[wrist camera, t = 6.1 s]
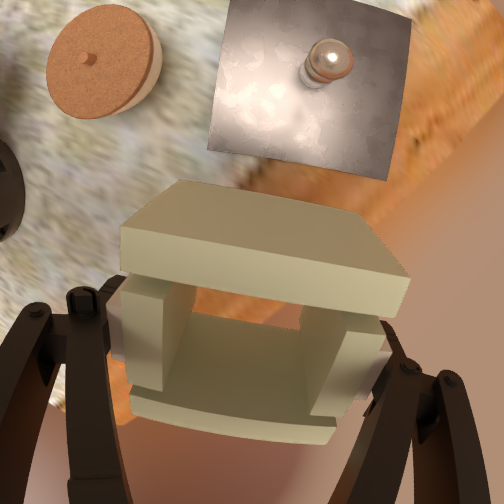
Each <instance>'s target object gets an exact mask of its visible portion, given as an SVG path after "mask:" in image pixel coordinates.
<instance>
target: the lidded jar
mask: <svg viewBox="0 0 504 504" xmlns="http://www.w3.org/2000/svg"><path fill="white" fill-rule="evenodd" d="M162 60H163V57H162V48H161V44H160V41H159V39H158V37H157V35H156V33H155V32H154V30H153V29H152V28H151V26H150V25H149V24H148V23H147V22H146V21H144V19H143V18H142V17H140V16H139V15H138V14H137V13H136V12H134V11H132V10H131V9H129V8H127V7H124V6H120V5H114V4H112V5H101V6H97V7H94V8H91V9H89V10H87V11H85V12H83V13H81V14H80V15H78V16H77V17H75V18H74V19H73V20H72V21H71V22H70V23H68V24H67V25H66V27H65V28H64V29H63V30H62V31H61V33H60V34H59V36H58V37H57V39H56V40H55V42H54V44H53V46H52V49H51V51H50V54H49V58H48V62H47V69H46V79H47V86H48V90H49V92H50V95H51V97H52V99H53V101H54V103H55V104H56V105H57V106H58V108H60V109H61V110H62V111H63V112H64V113H66V114H68V115H70V116H72V117H75V118H79V119H96V118H101V117H105V116H110V115H115V114H118V113H120V112H123V111H126V110H128V109H129V108H131V107H133V106H135V105H136V104H138V103H139V102H140V101H142V100H143V99H144V98H145V97H146V96H147V95H148V94H149V92H150V91H151V90H152V88H153V87H154V85H155V83H156V82H157V80H158V77H159V75H160V71H161V68H162Z"/></svg>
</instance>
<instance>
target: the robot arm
mask: <svg viewBox="0 0 504 504" xmlns="http://www.w3.org/2000/svg"><path fill="white" fill-rule="evenodd" d="M24 198H25V197H24V184H23V179H22V174H21V171H20V168H19V165H18V162H17V160H16V158H15V156H14V154H13V153H12V151H11V150H10V149H9V147H8V146H7V145H6V144H5V143H4V142H2V141H1V140H0V242H2V241H3V240H5V239H7V238H8V237H10V236H11V235H12V234H13V233H14V232H15V231H16V230H17V228H18V226H19V224H20V222H21V219H22V216H23V211H24ZM133 274H134V273H130V274H129V275H128V276H127V277H125V276H120V275H115V276H113V277H112V278H110V279H108V280H107V281H106V282H105V284H104V285H103V286H102V287H101V288H100V289H99V291H97V290H96V289H94V288H91V287H86V286H82V287H76V288H73V289H71V290H70V291H69V292H68V293H67V295H66V300H67V307H68V313H69V314H52V311H51V308H50V306H49V305H48V304H46V303H43V302H34V303H30V304H28V305H27V306H25V307H24V308H23V309H22V311H21V312H20V314H19V316H18V317H17V319H16V320H15V322H14V324H13V325H12V327H11V329H10V330H9V332H8V334H7V335H6V337H5V339H4V340H3V342H2V344H1V346H0V504H23V503H24V497H25V492H26V486H27V482H28V477H29V472H30V468H31V463H32V459H33V455H34V451H35V447H36V443H37V439H38V436H39V432H40V428H41V424H42V421H43V418H44V414H45V411H46V408H47V405H48V401H49V398H50V395H51V392H52V389H53V386H54V383H55V380H56V377H57V374H58V372H59V369H60V366H61V364H66V371H65V403H66V429H67V444H68V455H69V465H70V479H69V480H68V483H67V488H68V497H69V503H70V504H134V503H133V500H132V497H131V493H130V489H129V485H128V481H127V477H126V472H125V468H124V464H123V459H122V455H121V450H120V445H119V440H118V434H117V429H116V423H115V417H114V411H113V404H112V398H111V390H110V383H109V375H108V366H107V358H106V355H107V354H108V352H109V350H110V349H111V357H112V359H115V360H118V361H122V362H125V354H124V342H123V329H122V313H121V289H122V288H123V287H124V285H125V284H126V283H127V281H128V280H129V279H130V278H131V276H132V275H133ZM380 323H381V325H382V327H383V329H384V331H385V333H386V338H385V340H384V342H383V344H382V346H381V348H380V350H379V352H378V354H377V356H376V358H375V360H374V362H373V364H372V366H371V368H370V370H369V372H368V374H367V376H366V378H365V379H364V381H363V383H362V385H361V387H360V389H359V390H358V392H357V394H356V396H355V398H354V399H355V400H366V399H367V398H368V396H369V394H370V392H371V391H372V394H373V397H374V399H373V400H372V402H371V403H370V405H369V407H368V408H367V410H366V411H365V413H364V415H363V416H364V417H365V419H364V422H363V424H362V427H361V430H360V432H359V435H358V437H357V440H356V442H355V445H354V447H353V449H352V452H351V454H350V457H349V459H348V461H347V464H346V466H345V468H344V471H343V473H342V475H341V477H340V479H339V482H338V483H337V486H336V488H335V490H334V492H333V494H332V496H331V498H330V500H329V502H328V504H395V501H396V497H397V494H398V491H399V487H400V484H401V480H402V476H403V473H404V469H405V465H406V461H407V457H408V452H409V448H410V444H411V439H412V448H413V467H414V504H491V501H490V494H489V487H488V481H487V475H486V470H485V465H484V459H483V455H482V450H481V446H480V441H479V437H478V433H477V429H476V425H475V421H474V417H473V414H472V410H471V406H470V403H469V399H468V396H467V392H466V389H465V386H464V383H463V380H462V379H461V377H460V376H459V375H458V374H457V373H455V372H453V371H450V370H442V371H440V373H439V374H438V376H437V377H434V376H430V375H426V374H424V373H422V369H421V367H420V365H419V364H418V363H416V362H415V361H413V360H412V359H410V358H407V357H406V355H405V353H404V350H403V348H402V346H401V344H400V342H399V340H398V338H397V336H396V334H395V332H394V330H393V328H392V327H391V326H390V325H389V324H388V323H387V322H386V321H382V320H380ZM354 399H353V400H354Z"/></svg>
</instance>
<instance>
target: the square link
mask: <svg viewBox="0 0 504 504" xmlns="http://www.w3.org/2000/svg"><path fill="white" fill-rule="evenodd" d="M120 271H125V272H130V273H134V274H133V275H132V276H131V278H130V279H129V280H128V281H127V283H126V284H125V285H124V287H123V288H122V289H121V313H122V329H123V342H124V354H125V364H126V373H127V382H128V383H130V384H133V386H132V389H131V391H130V393H129V398H130V405H131V412H132V414H133V415H137V416H140V417H144V418H148V419H152V420H155V421H159V422H164V423H168V424H172V425H176V426H181V427H186V428H191V429H195V430H201V431H206V432H211V433H217V434H223V435H230V436H236V437H243V438H250V439H258V440H267V441H277V442H288V443H301V444H321V445H326V444H327V442H328V441H329V439H330V438H331V436H332V434H333V433H334V431H335V430H336V428H337V425H336V418H335V417H344V414H345V413H346V411H347V410H348V408H349V406H350V405H351V403H352V401H353V399H354V398H355V396H356V394H357V392H358V390H359V389H360V387H361V385H362V383H363V381H364V379H365V378H366V376H367V374H368V372H369V370H370V368H371V366H372V364H373V362H374V360H375V358H376V356H377V354H378V352H379V350H380V348H381V346H382V344H383V342H384V340H385V338H386V333H385V331H384V329H383V327H382V325H381V323H380V320H379V318H378V316H384V317H392V318H395V316H396V314H397V312H398V309H399V307H400V304H401V302H402V300H403V297H404V295H405V293H406V290H407V288H408V285H409V283H410V280H411V277H410V276H409V275H408V273H407V272H406V271H405V269H404V268H403V267H402V266H401V264H400V263H399V262H398V261H397V259H396V258H395V257H394V256H393V254H392V253H391V252H390V250H389V249H388V248H387V247H386V245H385V244H384V243H383V242H382V241H381V239H380V238H379V237H378V236H377V234H376V233H375V232H374V231H373V230H372V228H371V227H370V226H369V225H368V224H367V223H366V221H365V220H364V219H363V218H362V217H361V216H360V214H359V213H356V212H352V211H347V210H343V209H338V208H334V207H329V206H324V205H319V204H315V203H310V202H305V201H300V200H295V199H290V198H285V197H279V196H274V195H269V194H263V193H258V192H252V191H247V190H241V189H235V188H230V187H224V186H218V185H211V184H205V183H199V182H192V181H186V180H179V181H177V182H176V183H174V184H173V185H172V186H170V187H169V188H168V189H166V190H165V191H164V192H162V193H161V194H160V195H159V196H157V197H156V198H155V199H153V200H152V201H151V202H149V203H148V204H147V205H146V206H144V207H143V208H142V209H141V210H139V211H138V212H137V213H135V214H134V215H133V216H132V217H130V218H129V219H128V220H127V221H126V222H124V223H123V224H122V225H121V226H120ZM197 286H199V287H204V288H209V289H215V290H220V291H225V292H231V293H236V294H242V295H248V296H253V297H259V298H265V299H271V300H277V301H283V302H289V303H296V304H301V305H303V308H302V311H301V315H300V318H299V324H300V330H294V329H288V328H281V327H274V326H268V325H262V324H256V323H250V322H244V321H239V320H233V319H227V318H222V317H217V316H211V315H206V314H201V313H196V312H191V311H192V309H193V306H194V303H195V298H196V288H197Z"/></svg>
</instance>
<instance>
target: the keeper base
mask: <svg viewBox="0 0 504 504" xmlns="http://www.w3.org/2000/svg"><path fill="white" fill-rule="evenodd" d="M411 22H412V19H409V18H407V17H404V16H401V15H398V14H395V13H393V12H390V11H387V10H384V9H380V8H377V7H374V6H371V5H367V4H364V3H360V2H357V1H353V0H230V4H229V10H228V15H227V21H226V26H225V32H224V38H223V44H222V50H221V56H220V62H219V68H218V75H217V81H216V88H215V95H214V102H213V109H212V117H211V124H210V132H209V140H208V148H207V150H214V151H222V152H230V153H237V154H244V155H251V156H258V157H265V158H271V159H277V160H284V161H289V162H295V163H301V164H306V165H312V166H317V167H322V168H328V169H333V170H338V171H342V172H347V173H352V174H357V175H361V176H366V177H370V178H374V179H379V180H383V181H387V177H388V172H389V168H390V163H391V158H392V154H393V149H394V144H395V139H396V133H397V128H398V122H399V117H400V111H401V105H402V98H403V92H404V85H405V78H406V70H407V62H408V54H409V44H410V34H411Z"/></svg>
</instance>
